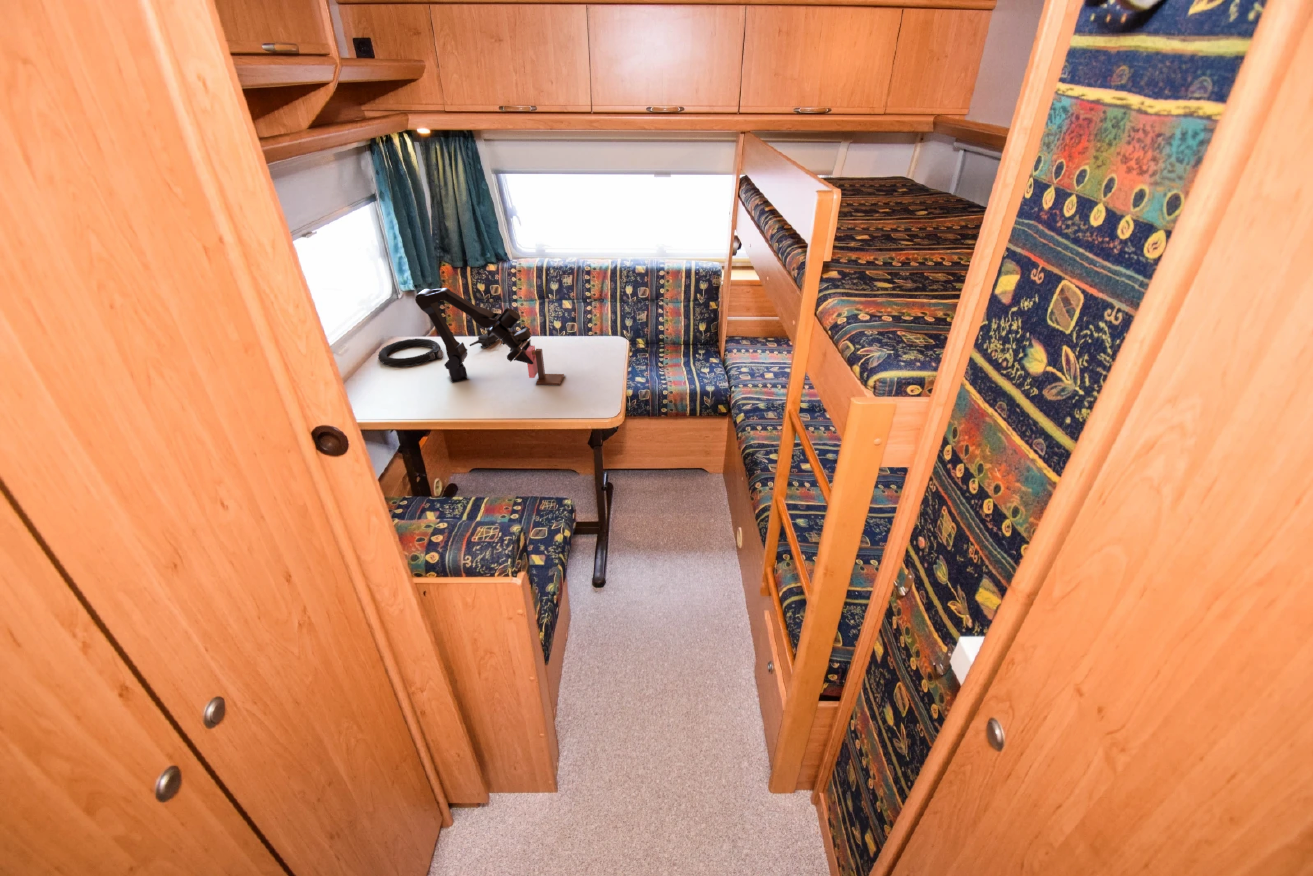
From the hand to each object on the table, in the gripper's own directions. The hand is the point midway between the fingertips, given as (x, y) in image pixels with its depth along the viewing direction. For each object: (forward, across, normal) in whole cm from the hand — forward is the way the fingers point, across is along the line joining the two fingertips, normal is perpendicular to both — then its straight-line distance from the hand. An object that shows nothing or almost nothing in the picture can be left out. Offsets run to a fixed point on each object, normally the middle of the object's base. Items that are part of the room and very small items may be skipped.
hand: (534, 360), depth 245 cm
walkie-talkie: (-18, +36, +31) cm, 51 cm away
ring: (-40, +23, +53) cm, 70 cm away
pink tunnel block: (+4, 0, +6) cm, 7 cm away
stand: (+8, 0, +5) cm, 9 cm away
